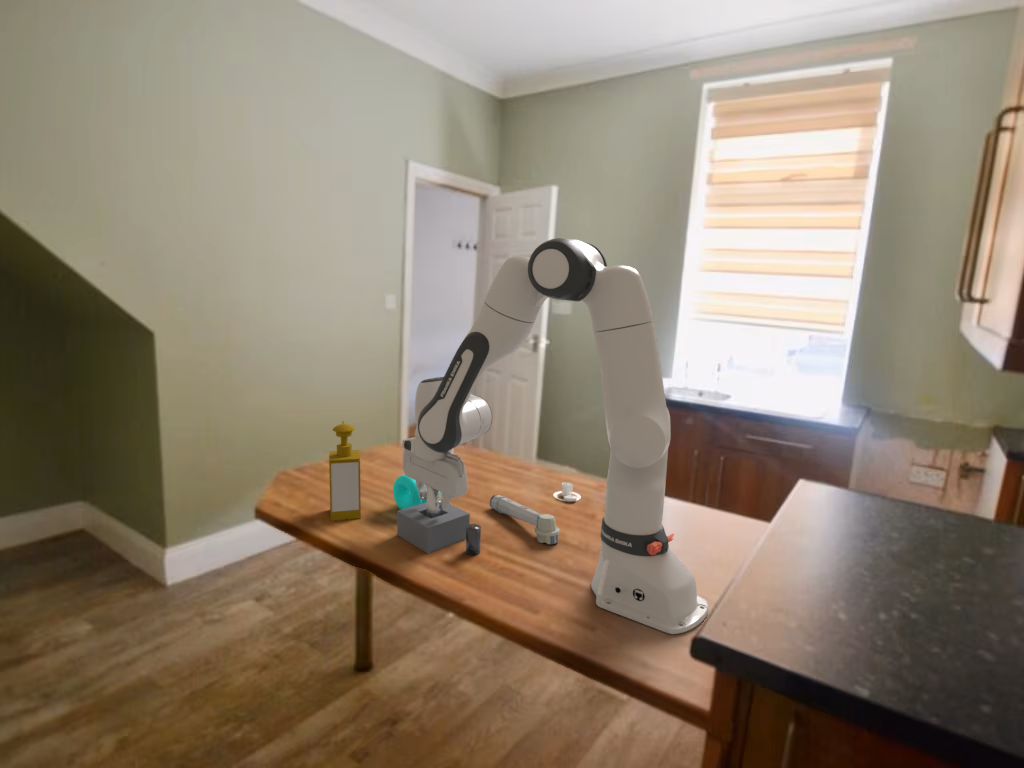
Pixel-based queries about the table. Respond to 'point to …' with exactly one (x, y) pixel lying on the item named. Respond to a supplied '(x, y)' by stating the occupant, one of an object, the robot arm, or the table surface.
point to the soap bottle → (344, 477)
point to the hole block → (432, 527)
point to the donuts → (406, 492)
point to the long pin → (433, 502)
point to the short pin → (473, 539)
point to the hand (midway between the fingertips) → (433, 503)
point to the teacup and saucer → (567, 493)
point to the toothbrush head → (528, 518)
